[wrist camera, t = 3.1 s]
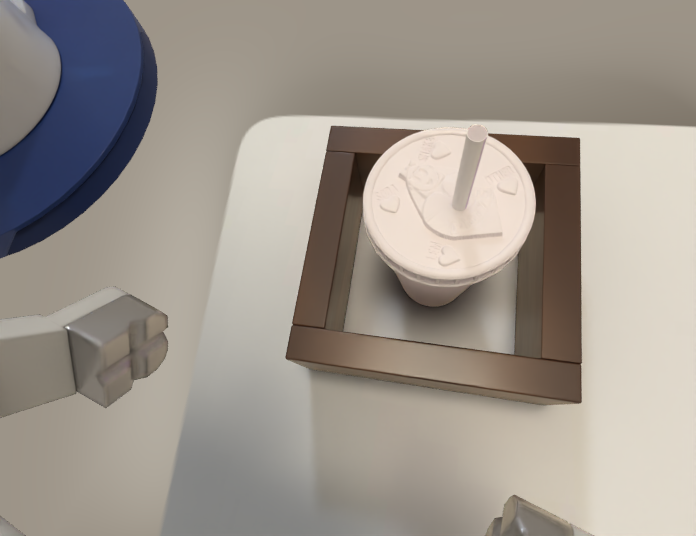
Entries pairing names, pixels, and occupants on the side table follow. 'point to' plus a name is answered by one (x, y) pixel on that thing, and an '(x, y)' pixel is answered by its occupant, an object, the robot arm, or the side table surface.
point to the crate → (439, 360)
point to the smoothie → (447, 210)
